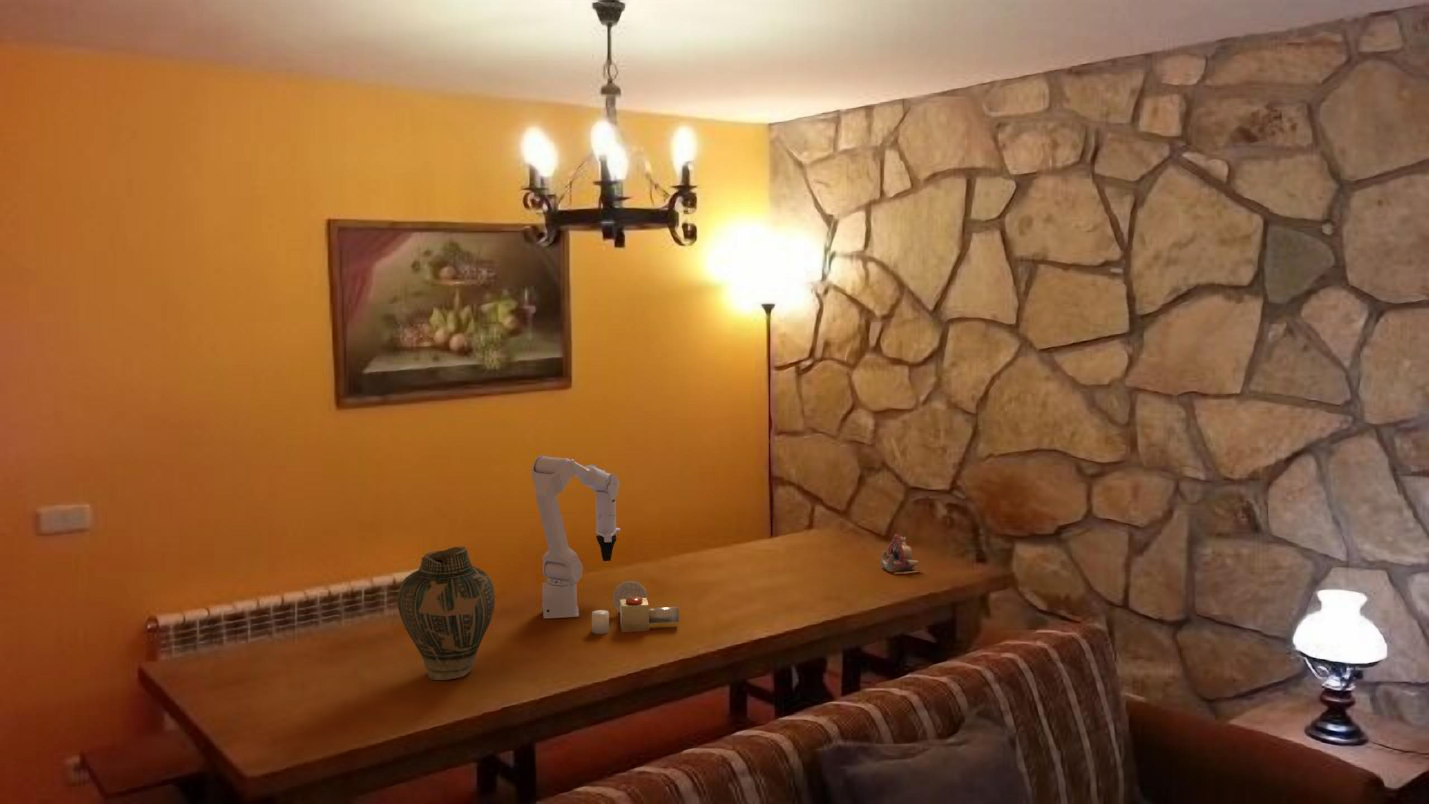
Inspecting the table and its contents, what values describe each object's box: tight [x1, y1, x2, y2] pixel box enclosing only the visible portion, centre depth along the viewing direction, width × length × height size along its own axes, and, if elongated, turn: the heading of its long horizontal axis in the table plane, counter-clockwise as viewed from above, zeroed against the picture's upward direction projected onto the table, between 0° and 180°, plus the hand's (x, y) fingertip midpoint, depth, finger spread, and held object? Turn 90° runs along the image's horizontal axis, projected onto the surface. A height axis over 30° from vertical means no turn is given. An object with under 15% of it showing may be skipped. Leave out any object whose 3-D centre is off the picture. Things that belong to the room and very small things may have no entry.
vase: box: [397, 546, 496, 681], centre depth 268 cm, size 22×22×30 cm
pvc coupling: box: [591, 609, 610, 635], centre depth 299 cm, size 4×4×5 cm
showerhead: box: [612, 580, 648, 613], centre depth 315 cm, size 9×7×10 cm
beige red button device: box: [619, 597, 680, 633], centre depth 304 cm, size 15×11×8 cm
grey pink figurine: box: [880, 533, 919, 575], centre depth 355 cm, size 11×11×12 cm
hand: (606, 560), depth 330 cm, fingers closed
